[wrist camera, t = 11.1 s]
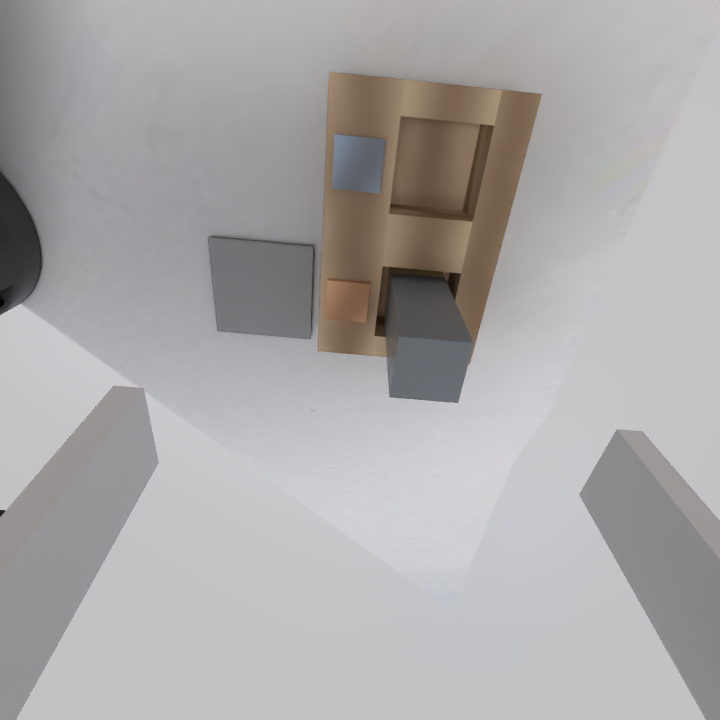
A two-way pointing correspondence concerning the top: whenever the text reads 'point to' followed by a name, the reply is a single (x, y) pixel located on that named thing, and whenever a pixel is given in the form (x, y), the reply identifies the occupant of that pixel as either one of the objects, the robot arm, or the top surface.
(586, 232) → the top surface
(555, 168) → the top surface
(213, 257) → the mat
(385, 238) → the socket board
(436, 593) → the top surface
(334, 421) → the top surface
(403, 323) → the plug
